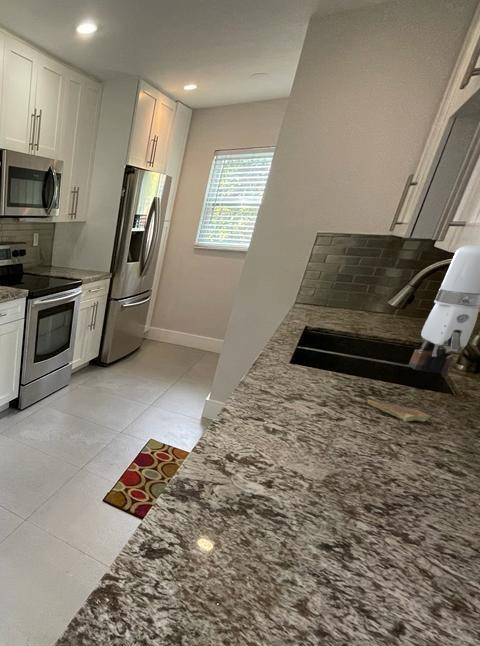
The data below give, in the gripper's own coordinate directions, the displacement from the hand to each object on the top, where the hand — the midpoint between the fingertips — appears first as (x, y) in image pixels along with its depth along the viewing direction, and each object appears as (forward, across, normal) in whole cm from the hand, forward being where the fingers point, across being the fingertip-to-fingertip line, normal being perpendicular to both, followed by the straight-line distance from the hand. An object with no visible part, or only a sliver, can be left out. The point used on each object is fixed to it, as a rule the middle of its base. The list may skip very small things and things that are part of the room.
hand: (427, 368), depth 106 cm
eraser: (0, 0, 0) cm, 0 cm away
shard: (+13, -2, +3) cm, 14 cm away
